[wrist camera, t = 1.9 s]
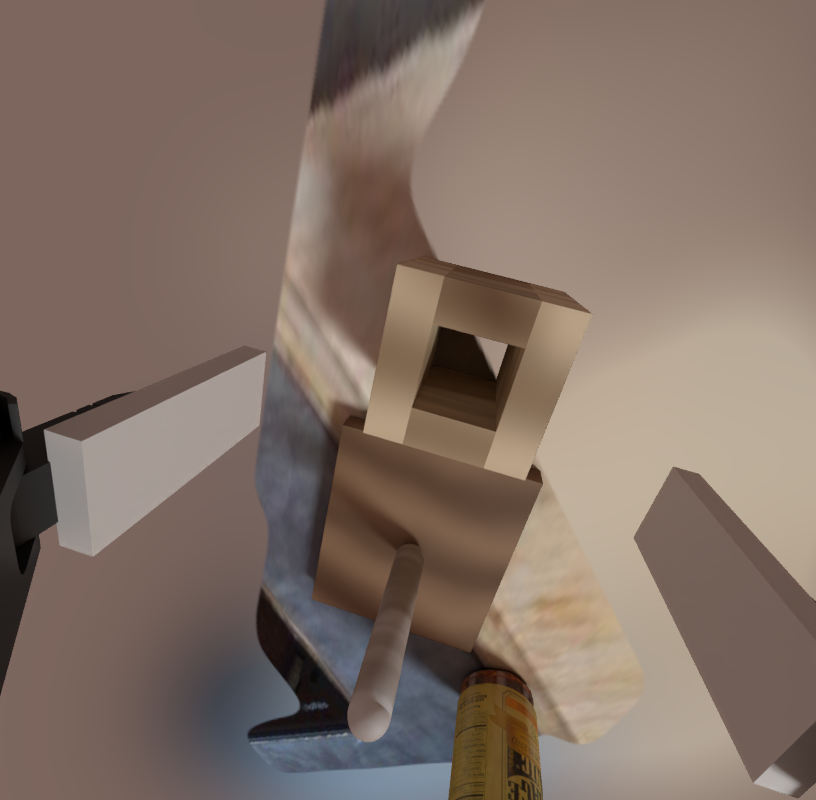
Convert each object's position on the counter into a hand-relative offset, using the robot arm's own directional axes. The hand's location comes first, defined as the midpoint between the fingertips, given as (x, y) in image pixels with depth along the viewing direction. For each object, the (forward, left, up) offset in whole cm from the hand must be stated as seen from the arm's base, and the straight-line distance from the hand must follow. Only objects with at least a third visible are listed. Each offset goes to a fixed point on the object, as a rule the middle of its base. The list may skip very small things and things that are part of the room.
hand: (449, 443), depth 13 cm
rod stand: (+15, 0, -13) cm, 19 cm away
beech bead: (0, 0, -13) cm, 13 cm away
